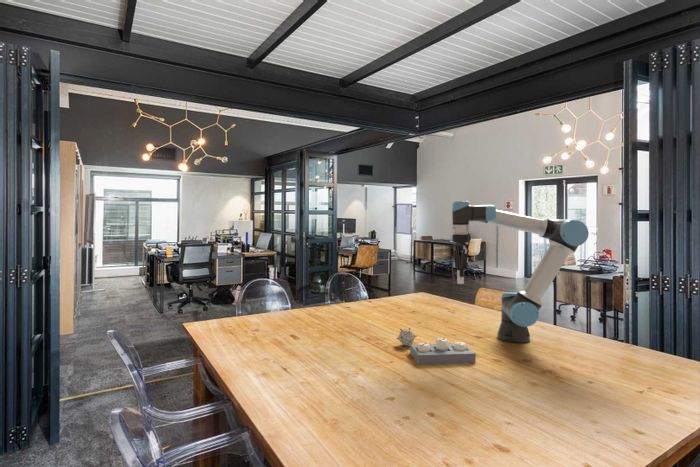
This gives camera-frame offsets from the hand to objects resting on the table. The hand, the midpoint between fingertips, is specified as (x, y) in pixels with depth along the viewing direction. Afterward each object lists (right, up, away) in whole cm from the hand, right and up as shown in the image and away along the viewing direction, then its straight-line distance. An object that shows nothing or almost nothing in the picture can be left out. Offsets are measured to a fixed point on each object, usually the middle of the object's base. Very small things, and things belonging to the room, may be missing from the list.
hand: (460, 283), depth 190 cm
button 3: (-21, -29, -19) cm, 40 cm away
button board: (-13, -30, -18) cm, 37 cm away
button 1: (-5, -29, -18) cm, 34 cm away
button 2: (-13, -27, -18) cm, 35 cm away
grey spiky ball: (-26, -29, -2) cm, 39 cm away
